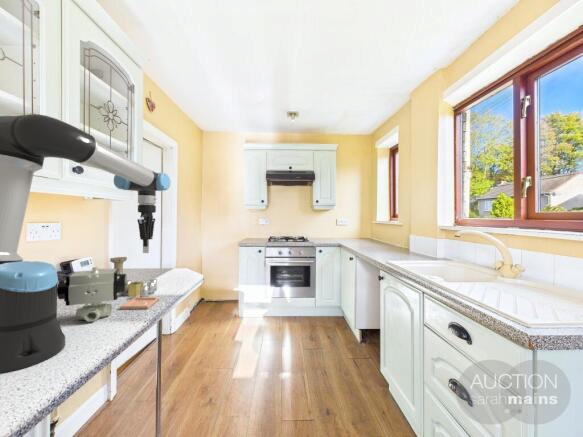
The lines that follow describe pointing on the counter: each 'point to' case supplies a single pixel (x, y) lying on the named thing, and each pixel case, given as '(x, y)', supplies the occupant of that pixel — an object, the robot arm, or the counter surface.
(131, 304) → the dish
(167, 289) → the counter surface
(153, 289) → the spacers
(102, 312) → the ball valve
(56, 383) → the counter surface
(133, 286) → the nut
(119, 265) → the handle
